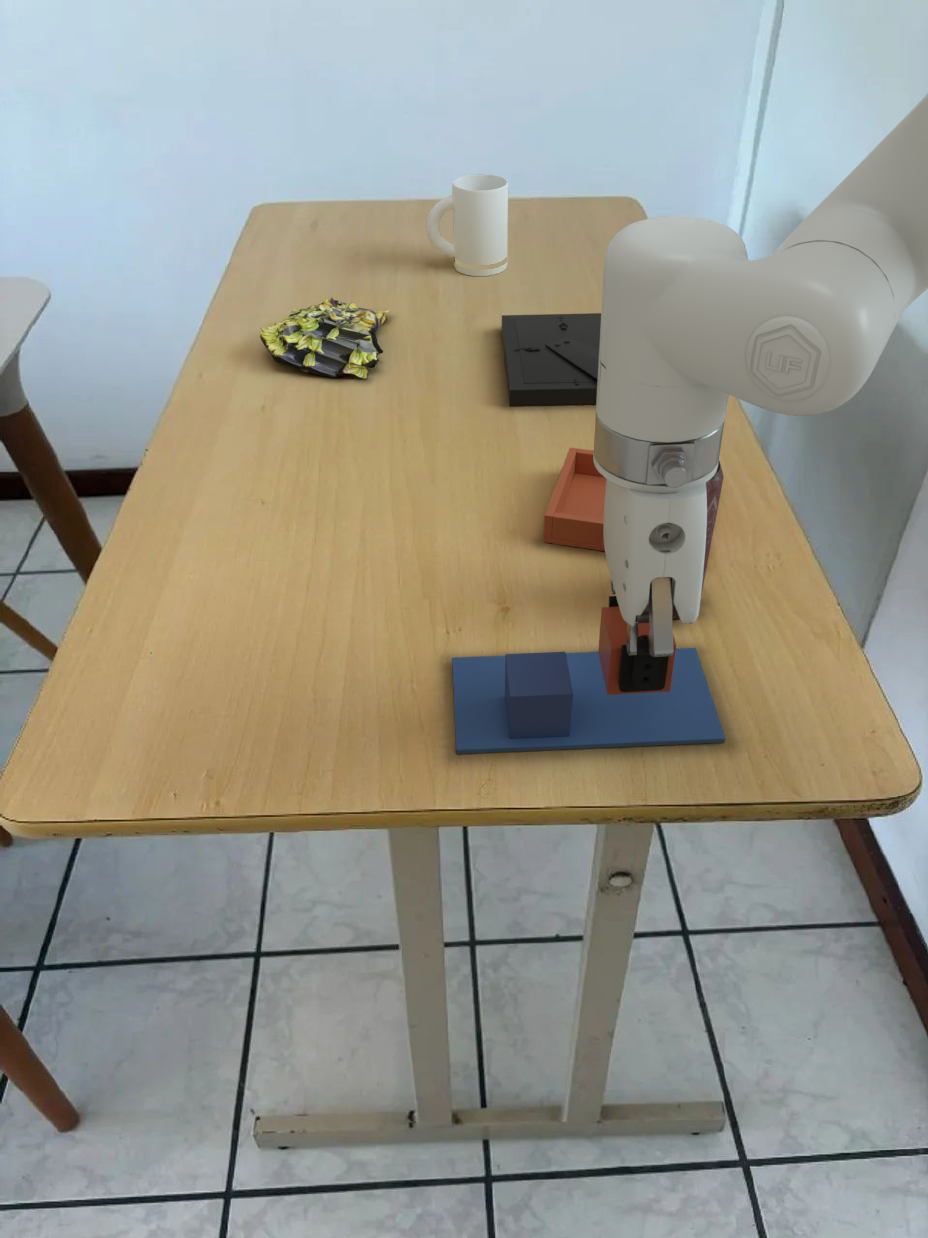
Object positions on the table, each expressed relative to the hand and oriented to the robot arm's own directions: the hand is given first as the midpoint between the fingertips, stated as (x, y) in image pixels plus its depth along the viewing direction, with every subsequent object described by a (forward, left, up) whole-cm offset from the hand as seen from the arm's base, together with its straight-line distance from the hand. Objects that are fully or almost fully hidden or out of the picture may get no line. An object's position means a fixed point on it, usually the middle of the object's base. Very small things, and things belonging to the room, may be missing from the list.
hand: (634, 661), depth 69 cm
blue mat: (+4, -1, -6) cm, 7 cm away
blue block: (+7, +2, -6) cm, 9 cm away
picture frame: (+16, -58, -6) cm, 61 cm away
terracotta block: (0, 0, -1) cm, 1 cm away
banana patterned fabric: (+46, -57, -6) cm, 73 cm away
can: (-1, -15, -6) cm, 17 cm away
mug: (+37, -87, -6) cm, 94 cm away
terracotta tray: (+4, -27, -6) cm, 28 cm away
